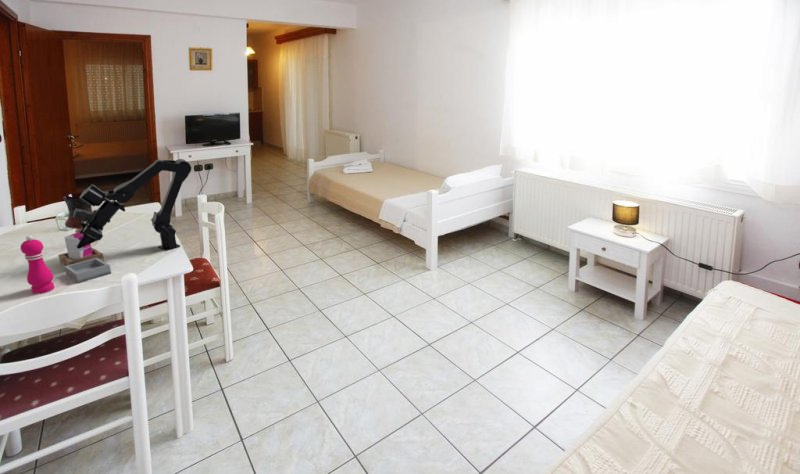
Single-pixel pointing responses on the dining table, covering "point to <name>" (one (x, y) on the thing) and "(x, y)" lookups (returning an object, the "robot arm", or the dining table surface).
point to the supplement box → (72, 247)
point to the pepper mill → (37, 266)
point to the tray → (87, 270)
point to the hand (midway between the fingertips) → (77, 244)
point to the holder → (66, 261)
